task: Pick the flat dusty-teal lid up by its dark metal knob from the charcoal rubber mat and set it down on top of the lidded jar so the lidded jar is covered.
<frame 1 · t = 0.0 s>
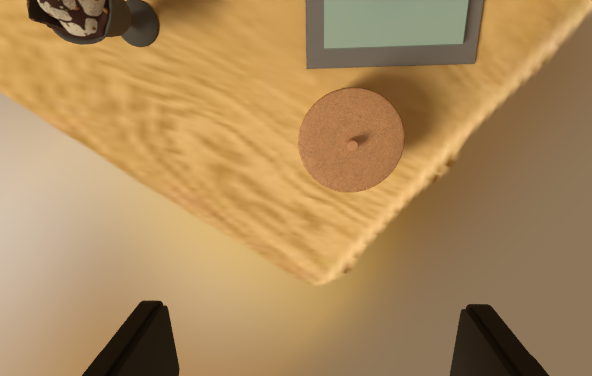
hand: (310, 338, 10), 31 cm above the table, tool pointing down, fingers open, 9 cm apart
lidded jar: (343, 131, 39), on the table
sundae: (138, 23, 36), on the table
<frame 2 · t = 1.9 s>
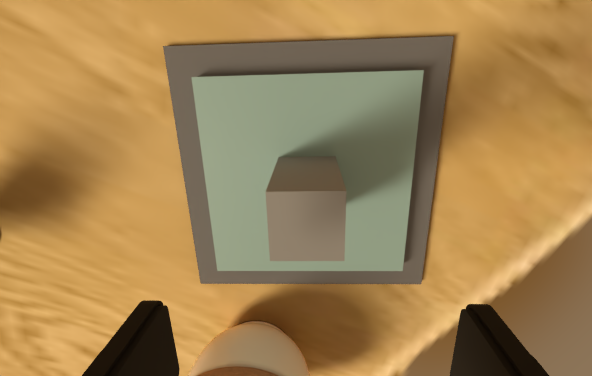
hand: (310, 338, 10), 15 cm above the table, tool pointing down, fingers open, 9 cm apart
lidded jar: (258, 343, 30), on the table
mat: (307, 177, 24), on the table
lid: (307, 179, 23), resting on mat
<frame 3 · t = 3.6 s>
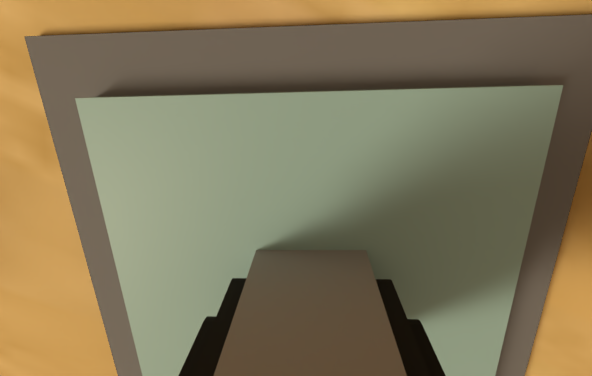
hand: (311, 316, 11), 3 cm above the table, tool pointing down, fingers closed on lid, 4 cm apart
mat: (311, 274, 13), on the table
lid: (311, 280, 13), resting on mat, touching gripper
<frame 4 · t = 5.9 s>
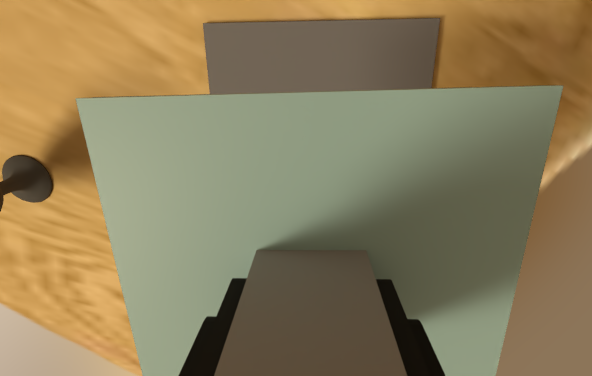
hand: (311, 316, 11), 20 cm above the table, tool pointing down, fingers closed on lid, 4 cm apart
mat: (317, 137, 28), on the table
sundae: (29, 178, 31), on the table
lid: (311, 280, 13), point 17 cm above the table, touching gripper
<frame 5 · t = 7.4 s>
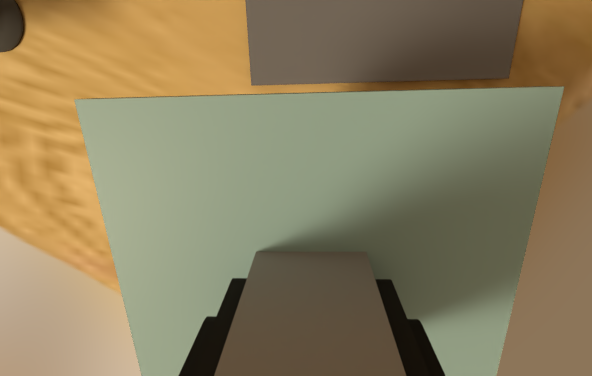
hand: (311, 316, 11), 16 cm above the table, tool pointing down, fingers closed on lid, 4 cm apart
lid: (311, 281, 13), point 14 cm above the table, touching gripper
when the fingers open (13 cm above the table, at t = 8.2 s): lid drops 2 cm, resting on lidded jar.
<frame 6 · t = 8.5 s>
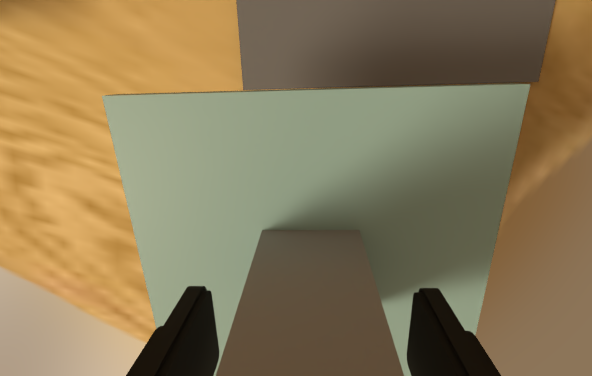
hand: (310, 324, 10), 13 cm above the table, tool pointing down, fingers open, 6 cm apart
lid: (310, 258, 14), point 9 cm above the table, touching lidded jar
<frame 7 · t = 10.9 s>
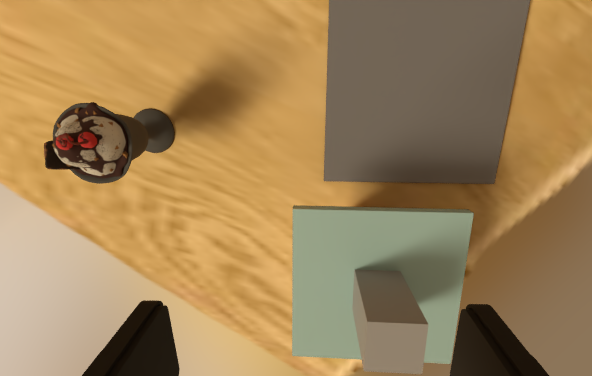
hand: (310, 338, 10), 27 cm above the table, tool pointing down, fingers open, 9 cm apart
mat: (416, 94, 33), on the table
sundae: (154, 130, 35), on the table
lid: (373, 284, 29), point 9 cm above the table, touching lidded jar
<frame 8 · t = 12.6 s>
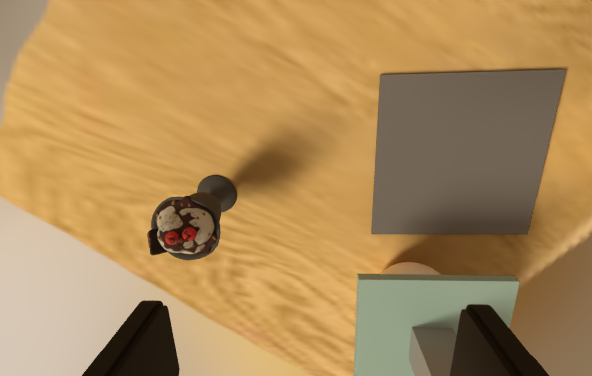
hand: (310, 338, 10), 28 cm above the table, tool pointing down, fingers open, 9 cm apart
lidded jar: (401, 281, 42), on the table, touching lid
mat: (457, 159, 36), on the table
sundae: (217, 193, 39), on the table
lid: (426, 335, 33), point 9 cm above the table, touching lidded jar
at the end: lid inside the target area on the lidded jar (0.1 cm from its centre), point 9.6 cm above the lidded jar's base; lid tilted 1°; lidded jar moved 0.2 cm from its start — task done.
